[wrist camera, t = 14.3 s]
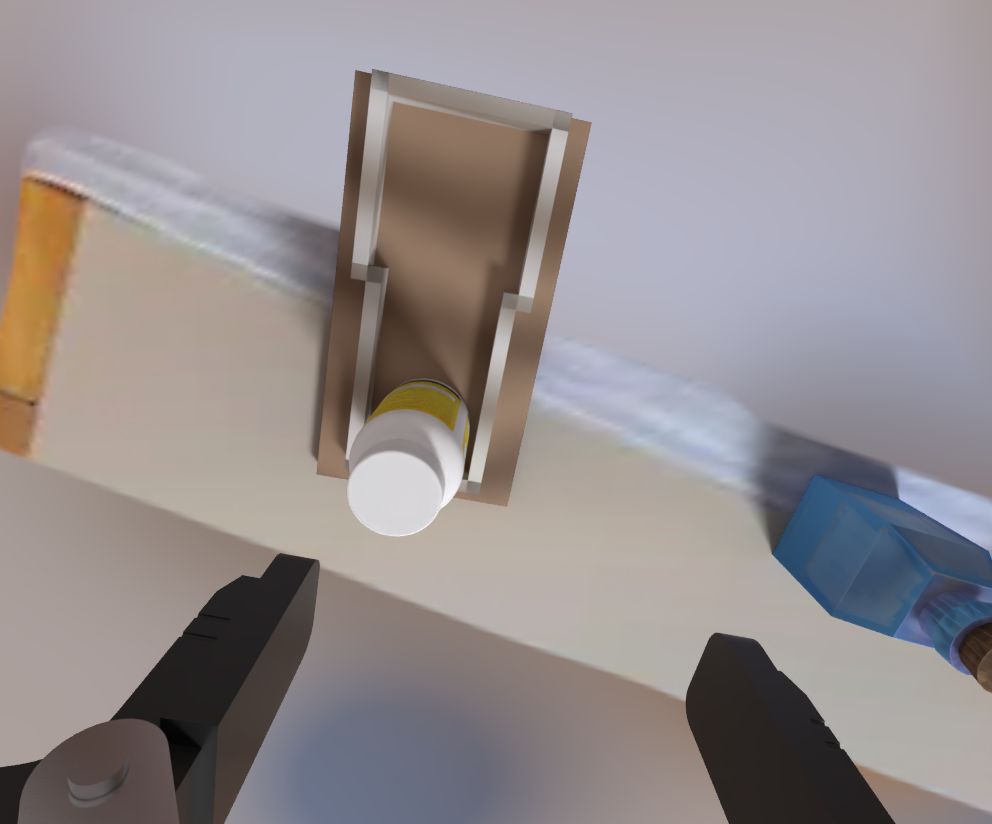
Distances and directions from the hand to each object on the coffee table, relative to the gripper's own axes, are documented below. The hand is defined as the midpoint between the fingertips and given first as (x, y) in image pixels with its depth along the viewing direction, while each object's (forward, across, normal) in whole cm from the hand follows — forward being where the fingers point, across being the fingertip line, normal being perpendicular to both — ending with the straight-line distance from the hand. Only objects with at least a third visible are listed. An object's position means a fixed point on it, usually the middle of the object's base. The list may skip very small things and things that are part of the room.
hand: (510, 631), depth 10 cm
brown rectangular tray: (+21, +4, -3) cm, 22 cm away
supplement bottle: (+20, +4, +3) cm, 21 cm away
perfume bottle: (+22, -24, +6) cm, 33 cm away
